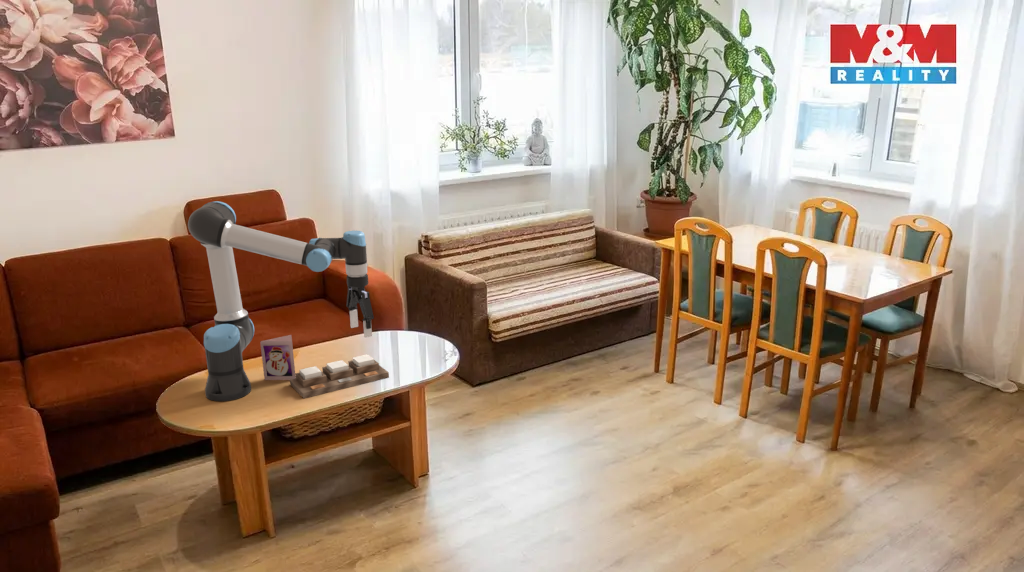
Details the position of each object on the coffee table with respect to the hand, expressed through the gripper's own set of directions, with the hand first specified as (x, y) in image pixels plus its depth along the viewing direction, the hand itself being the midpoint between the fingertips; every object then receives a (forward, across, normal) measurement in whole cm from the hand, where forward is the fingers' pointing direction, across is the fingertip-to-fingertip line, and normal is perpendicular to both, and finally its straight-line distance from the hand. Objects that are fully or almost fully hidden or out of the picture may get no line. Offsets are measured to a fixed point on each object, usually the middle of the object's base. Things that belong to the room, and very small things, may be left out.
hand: (361, 331), depth 288 cm
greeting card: (+16, +14, +26) cm, 34 cm away
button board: (+16, -2, +10) cm, 19 cm away
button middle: (+13, 0, +10) cm, 16 cm away
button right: (+13, 0, 0) cm, 13 cm away
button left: (+13, 0, +20) cm, 24 cm away
